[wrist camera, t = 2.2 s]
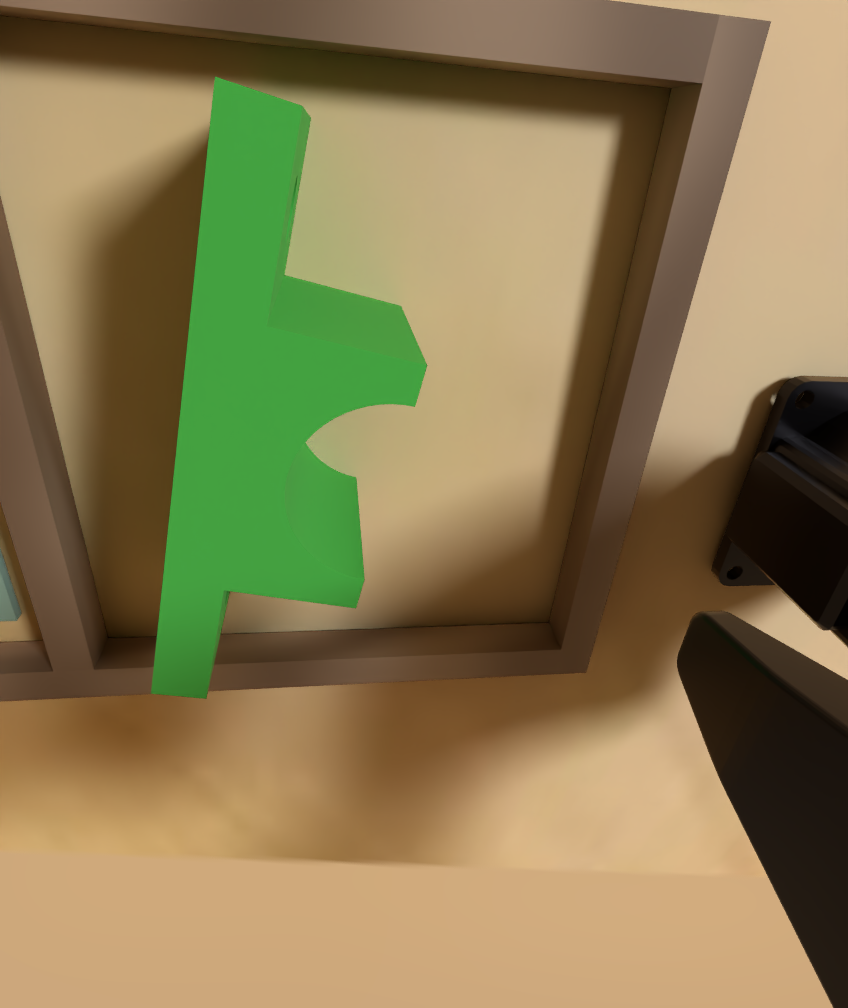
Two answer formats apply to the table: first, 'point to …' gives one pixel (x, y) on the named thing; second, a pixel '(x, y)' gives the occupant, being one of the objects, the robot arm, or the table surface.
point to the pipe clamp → (265, 399)
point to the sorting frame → (626, 390)
